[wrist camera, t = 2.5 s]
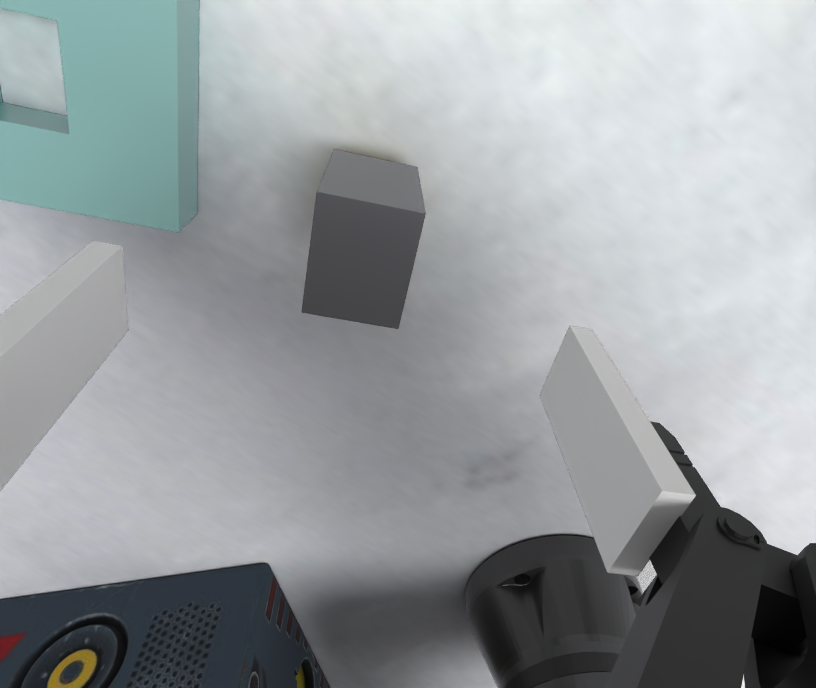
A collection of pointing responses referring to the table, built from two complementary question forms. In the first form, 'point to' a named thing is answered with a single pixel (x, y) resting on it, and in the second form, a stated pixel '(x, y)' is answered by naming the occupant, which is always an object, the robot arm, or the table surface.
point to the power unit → (158, 635)
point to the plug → (363, 239)
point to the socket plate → (112, 115)
